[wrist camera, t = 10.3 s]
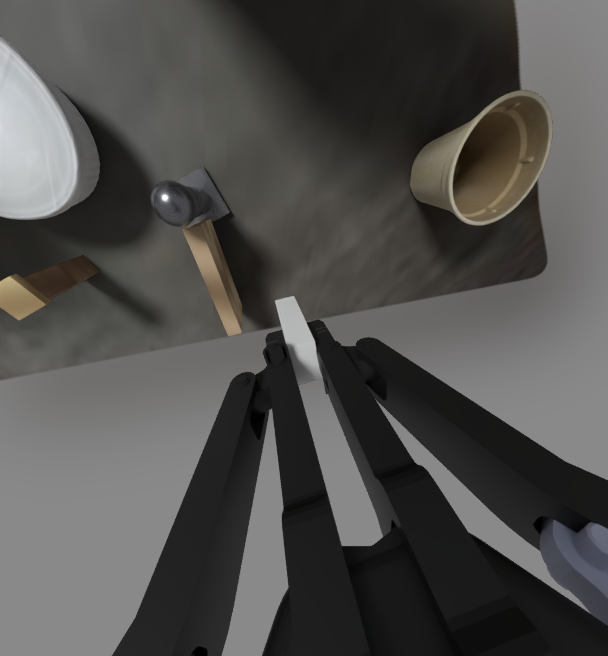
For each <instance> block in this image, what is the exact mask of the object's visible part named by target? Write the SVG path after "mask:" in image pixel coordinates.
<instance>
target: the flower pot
mask: <svg viewBox="0 0 608 656" xmlns="http://www.w3.org/2000/svg"><path fill="white" fill-rule="evenodd" d="M552 125H553V121H552V116H551V112H550V110H549V107H548V105H547V103H546V101H545V100H544V99H543V98H542V97H541V96H540V95H539V94H538V93H536V92H532V91H528V90H519V91H514V92H511V93H508V94H506V95H504V96H502V97H500V98H498V99H497V100H495V101H494V102H492V103H491V104H490V105H488V106H487V107H486V108H485V109H484V110H483V111H482V112H481V113H480V114H479V115H477V116H476V117H475V118H474V119H473V120H471V121H470V122H468V123H466V124H464V125H463V126H461V127H459V128H457V129H455V130H453V131H451V132H449V133H447V134H445V135H443V136H441V137H439V138H437V139H435V140H433V141H431V142H430V143H428V144H427V145H426V146H425V147H424V148H423V149H422V150H421V151H420V152H419V154H418V155H417V157H416V159H415V160H414V163H413V165H412V172H411V179H410V188H411V191H412V193H413V195H414V197H415V198H416V199H417V200H419V201H420V202H423V203H427V204H430V205H433V206H436V207H439V208H443V209H446V210H449V211H451V212H452V213H453V214H455V215H456V216H457V218H458V219H460V220H461V221H462V222H464V223H467V224H470V225H477V226H478V225H486V224H489V223H493V222H495V221H497V220H499V219H501V218H503V217H504V216H506V215H507V214H509V213H510V212H511V211H512V210H513V209H515V208H516V207H517V206H518V205H519V204H520V203H521V201H522V200H523V199H524V198H525V197H526V196H527V194H528V193H529V192H530V191H531V189H532V188H533V186H534V184H535V182H536V181H537V179H538V178H539V176H540V174H541V172H542V170H543V168H544V166H545V163H546V160H547V158H548V155H549V152H550V147H551V141H552V136H553V130H552V128H553V126H552Z"/></svg>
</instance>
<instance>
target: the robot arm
mask: <svg viewBox="0 0 608 656" xmlns="http://www.w3.org/2000/svg"><path fill="white" fill-rule="evenodd" d="M275 303H276V307H277V311H278V315H279V319H280V323H281V326H282V330H280V331H276V332H273V333H269V334H268V335H267V337H266V346H267V347H266V348H265V349H264V350H263V355H264V358H265V360H266V363H267V367H266V368H265V369H264V370H263V371H261V372H260V373H258V374H256V375H254V373H251V372H244V373H241V374H239V375H237V376H236V377H235V378H234V379H233V380H232V381H231V383H230V385H229V388H228V390H227V393H226V396H225V398H224V400H223V403H222V405H221V408H220V410H219V413H218V415H217V417H216V420H215V422H214V425H213V428H212V430H211V432H210V435H209V437H208V440H207V442H206V445H205V447H204V450H203V452H202V455H201V457H200V459H199V462H198V464H197V467H196V469H195V472H194V474H193V477H192V479H191V482H190V484H189V487H188V489H187V492H186V494H185V497H184V499H183V501H182V504H181V506H180V509H179V511H178V514H177V516H176V519H175V521H174V524H173V526H172V529H171V531H170V533H169V536H168V539H167V541H166V543H165V546H164V548H163V551H162V553H161V556H160V558H159V561H158V563H157V566H156V568H155V571H154V573H153V575H152V578H151V581H150V583H149V585H148V588H147V590H146V593H145V595H144V598H143V600H142V603H141V605H140V608H139V610H138V612H137V615H136V617H135V619H134V621H133V622H132V624H131V626H130V627H129V629H128V630H127V632H126V634H125V636H124V637H123V639H122V640H121V642H120V644H119V645H118V647H117V649H116V650H115V652H114V653H113V655H112V656H221V655H222V652H223V648H224V645H225V641H226V637H227V634H228V630H229V625H230V621H231V616H232V612H233V607H234V601H235V596H236V591H237V585H238V580H239V574H240V569H241V563H242V558H243V553H244V547H245V542H246V536H247V531H248V525H249V519H250V515H251V508H252V503H253V498H254V493H255V487H256V482H257V476H258V471H259V465H260V460H261V454H262V449H263V444H264V438H265V433H266V426H267V422H268V416H269V410H270V409H271V408H272V411H273V420H274V428H275V437H276V445H277V454H278V462H279V471H280V480H281V488H282V497H283V505H284V510H283V513H282V529H283V539H284V547H285V557H286V566H287V576H288V585H289V588H288V589H287V591H286V593H285V595H284V596H283V599H282V601H281V603H280V605H279V607H278V610H277V613H276V616H275V619H274V621H273V625H272V627H271V631H270V633H269V636H268V639H267V642H266V645H265V648H264V651H263V654H262V656H608V480H606V479H604V478H601V477H599V476H596V475H594V474H592V473H590V472H588V471H585V470H583V469H581V468H579V467H576V466H574V465H572V464H569V463H567V462H565V461H564V460H562V459H560V458H559V457H558V456H556V455H554V454H553V453H551V452H550V451H548V450H547V449H545V448H544V447H542V446H541V445H539V444H538V443H536V442H534V441H533V440H531V439H530V438H528V437H527V436H525V435H524V434H522V433H521V432H519V431H518V430H516V429H514V428H513V427H511V426H510V425H508V424H507V423H505V422H504V421H502V420H501V419H499V418H498V417H496V416H495V415H493V414H491V413H490V412H488V411H487V410H485V409H483V408H482V407H481V406H479V405H478V404H476V403H474V402H473V401H471V400H470V399H468V398H467V397H465V396H464V395H462V394H461V393H459V392H458V391H456V390H454V389H453V388H451V387H450V386H448V385H447V384H445V383H444V382H442V381H441V380H439V379H437V378H436V377H434V376H433V375H431V374H430V373H428V372H427V371H425V370H424V369H422V368H421V367H419V366H418V365H416V364H415V363H413V362H411V361H410V360H408V359H407V358H405V357H404V356H402V355H401V354H399V353H398V352H396V351H394V350H393V349H392V348H390V347H389V346H387V345H385V344H384V343H382V342H381V341H379V340H378V339H375V338H363V339H360V340H359V341H357V343H356V346H350V347H349V346H341V344H340V343H339V342H337V341H335V340H334V339H333V337H332V336H331V334H330V332H329V331H328V329H327V328H326V325H325V324H324V322H322V321H320V320H315V321H311V322H307V323H306V321H305V319H304V317H303V315H302V312H301V310H300V308H299V306H298V304H297V302H296V300H295V297H294V296H291V297H287V298H283V299H279V300H275ZM321 374H322V375H321ZM322 377H323V381H324V386H325V391H326V394H328V395H329V397H330V400H331V403H332V405H333V408H334V410H335V413H336V415H337V418H338V420H339V422H340V425H341V427H342V430H343V432H344V435H345V437H346V440H347V442H348V445H349V447H350V450H351V452H352V455H353V457H354V460H355V462H356V465H357V467H358V470H359V472H360V474H361V477H362V480H363V482H364V485H365V487H366V489H367V492H368V494H369V497H370V499H371V502H372V504H373V507H374V509H375V512H376V514H377V518H378V521H379V525H380V528H381V531H382V534H383V538H381V539H380V540H379V541H378V542H377V543H375V544H374V545H372V546H342V545H341V542H340V538H339V534H338V531H337V527H336V523H335V520H334V516H333V512H332V508H331V505H330V501H329V497H328V494H327V490H326V487H325V483H324V480H323V475H322V471H321V468H320V464H319V461H318V457H317V453H316V449H315V446H314V442H313V438H312V435H311V431H310V428H309V424H308V420H307V416H306V413H305V409H304V405H303V401H302V398H301V394H300V390H299V387H298V385H301V384H305V383H308V382H311V381H315V380H318V379H321V378H322ZM375 399H376V400H377V401H378V402H379V403H380V404H381V405H382V406H383V407H384V408H385V409H386V410H387V411H388V412H389V413H390V414H391V415H392V416H393V417H394V418H395V419H396V420H397V421H399V422H400V423H401V424H402V425H403V426H404V427H405V428H406V429H407V430H408V431H409V432H410V433H411V434H412V435H413V436H414V437H415V438H416V439H417V440H418V441H419V442H420V443H421V444H422V445H423V446H424V447H425V448H426V449H427V450H429V451H430V452H431V453H432V454H433V455H434V456H435V457H436V458H437V459H438V460H439V461H440V462H441V463H442V464H443V465H444V466H445V467H446V468H447V469H448V470H449V471H450V472H451V473H452V474H453V475H454V476H455V477H456V478H457V479H458V480H459V481H460V482H462V483H463V484H464V485H465V486H466V487H467V488H468V489H469V490H470V491H471V492H472V493H473V494H474V495H475V496H476V497H477V498H478V499H479V500H480V501H481V502H482V503H483V504H484V505H485V506H486V507H488V509H489V510H491V511H492V512H493V513H494V514H495V515H496V516H497V517H498V518H499V519H500V520H501V521H503V522H504V523H505V524H506V525H507V526H508V527H509V528H511V529H512V530H513V531H515V532H516V533H517V534H518V535H519V536H521V537H522V538H523V539H524V540H526V541H527V542H528V543H530V544H531V545H532V546H534V547H535V548H537V549H538V550H540V552H541V555H542V557H543V560H544V562H545V563H546V565H547V569H548V571H549V573H550V575H551V577H552V578H553V579H554V580H555V581H556V582H557V583H558V584H559V585H561V586H562V587H563V588H565V589H567V590H569V591H570V592H571V593H573V594H574V595H575V596H576V597H577V598H578V599H579V600H580V601H581V602H582V603H583V605H584V606H585V607H586V608H587V609H588V610H589V612H590V613H591V614H592V615H591V614H590V613H588V612H587V611H585V610H584V609H583V608H581V607H580V606H578V605H577V604H575V603H574V602H572V601H571V600H569V599H568V598H566V597H565V596H563V595H562V594H560V593H559V592H557V591H556V590H554V589H553V588H551V587H550V586H548V585H547V584H545V583H544V582H543V581H541V580H540V579H538V578H537V577H535V576H533V575H532V574H531V573H529V572H527V571H526V570H525V569H523V568H522V567H520V566H519V565H517V564H516V563H514V562H513V561H511V560H510V559H508V558H507V557H505V556H504V555H502V554H501V553H499V552H498V551H497V550H495V549H494V548H492V547H491V546H489V545H488V544H486V543H485V542H483V541H482V540H480V539H479V538H477V537H476V536H474V535H472V534H470V533H468V531H467V530H466V528H465V527H464V525H463V524H462V522H461V521H460V519H459V518H458V516H457V514H456V513H455V511H454V510H453V508H452V507H451V505H450V504H449V502H448V501H447V499H446V498H445V496H444V495H443V493H442V492H441V490H440V489H439V487H438V485H437V484H436V482H435V481H434V479H433V478H432V477H431V475H430V474H429V472H428V471H427V470H426V469H425V468H424V467H423V466H421V465H417V464H416V463H415V462H414V460H413V459H412V458H411V456H410V455H409V453H408V451H407V450H406V448H405V447H404V445H403V443H402V442H401V440H400V438H399V437H398V435H397V434H396V432H395V431H394V429H393V427H392V426H391V424H390V422H389V421H388V419H387V418H386V416H385V414H384V413H383V411H382V410H381V408H380V406H379V405H378V403H377V402H376V400H375Z"/></svg>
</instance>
